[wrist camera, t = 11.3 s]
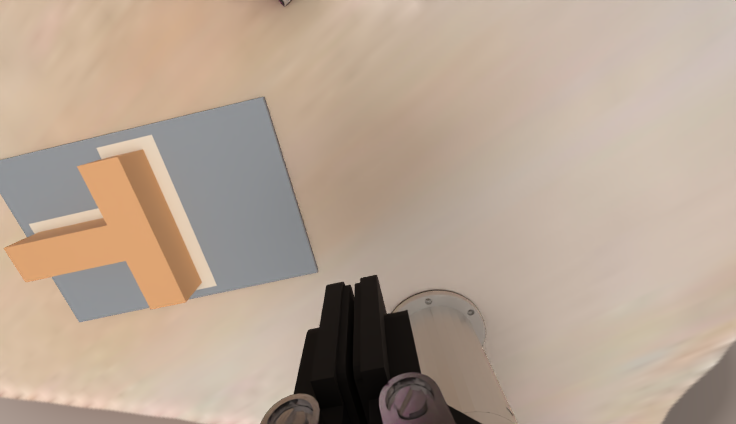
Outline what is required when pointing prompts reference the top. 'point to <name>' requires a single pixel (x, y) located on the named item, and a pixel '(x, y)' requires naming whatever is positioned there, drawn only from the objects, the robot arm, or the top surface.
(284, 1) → the candy bar box
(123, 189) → the t block
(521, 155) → the top surface
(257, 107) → the mat
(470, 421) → the robot arm
